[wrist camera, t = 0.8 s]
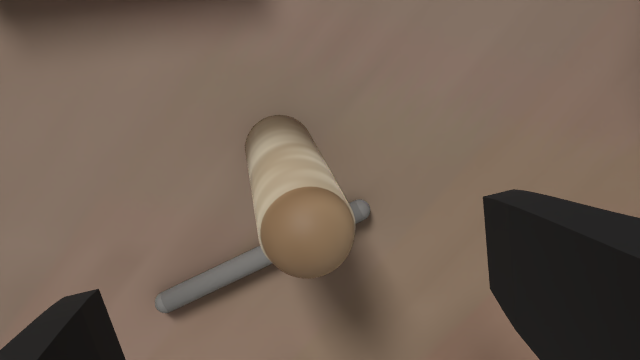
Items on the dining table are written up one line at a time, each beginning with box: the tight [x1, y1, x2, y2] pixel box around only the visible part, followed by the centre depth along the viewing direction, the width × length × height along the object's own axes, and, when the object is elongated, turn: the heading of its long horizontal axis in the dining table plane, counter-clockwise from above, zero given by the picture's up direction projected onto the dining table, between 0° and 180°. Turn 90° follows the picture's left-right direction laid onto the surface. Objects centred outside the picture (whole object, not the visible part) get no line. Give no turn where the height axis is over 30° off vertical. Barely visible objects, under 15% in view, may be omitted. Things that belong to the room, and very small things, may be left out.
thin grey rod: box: [155, 200, 370, 313], centre depth 21 cm, size 9×1×1 cm, turn 114°
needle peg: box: [245, 115, 356, 279], centre depth 17 cm, size 2×2×8 cm
